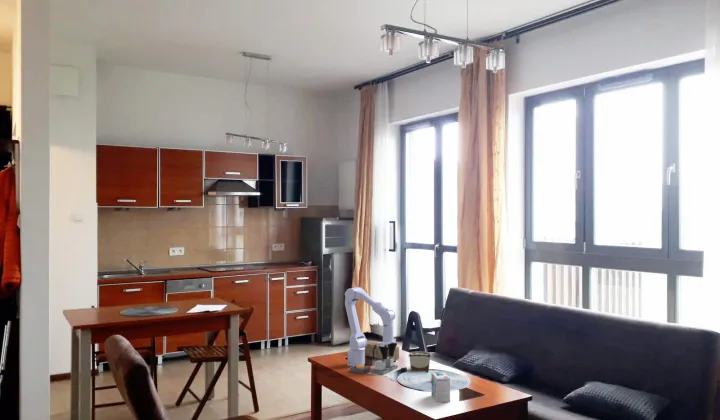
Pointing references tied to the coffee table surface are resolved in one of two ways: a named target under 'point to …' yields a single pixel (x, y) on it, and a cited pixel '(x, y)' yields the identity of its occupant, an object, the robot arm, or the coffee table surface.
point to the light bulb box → (440, 387)
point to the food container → (419, 360)
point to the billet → (389, 362)
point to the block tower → (374, 350)
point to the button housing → (362, 371)
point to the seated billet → (380, 365)
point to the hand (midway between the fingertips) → (388, 357)
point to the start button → (360, 366)
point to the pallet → (386, 372)
